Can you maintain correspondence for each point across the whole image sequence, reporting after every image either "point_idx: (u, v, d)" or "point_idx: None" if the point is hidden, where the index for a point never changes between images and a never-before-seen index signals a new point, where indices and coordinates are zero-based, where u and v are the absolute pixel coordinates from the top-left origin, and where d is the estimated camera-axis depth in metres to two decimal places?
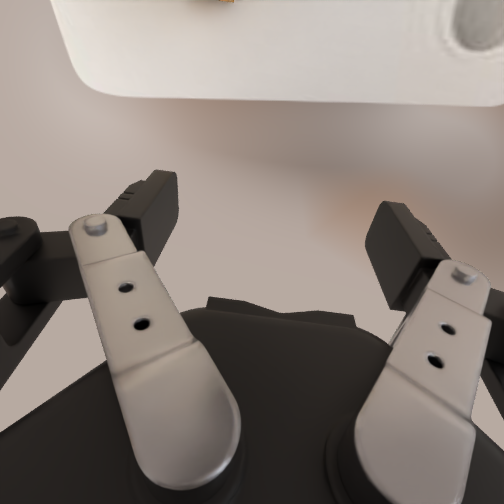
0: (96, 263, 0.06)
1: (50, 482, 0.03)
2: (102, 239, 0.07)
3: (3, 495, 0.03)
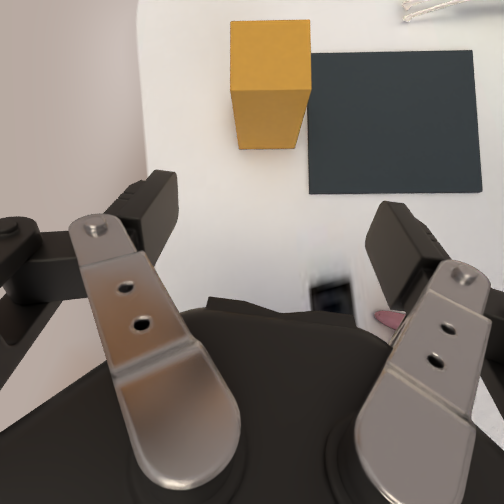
0: (96, 263, 0.06)
1: (50, 482, 0.03)
2: (102, 238, 0.07)
3: (3, 495, 0.03)
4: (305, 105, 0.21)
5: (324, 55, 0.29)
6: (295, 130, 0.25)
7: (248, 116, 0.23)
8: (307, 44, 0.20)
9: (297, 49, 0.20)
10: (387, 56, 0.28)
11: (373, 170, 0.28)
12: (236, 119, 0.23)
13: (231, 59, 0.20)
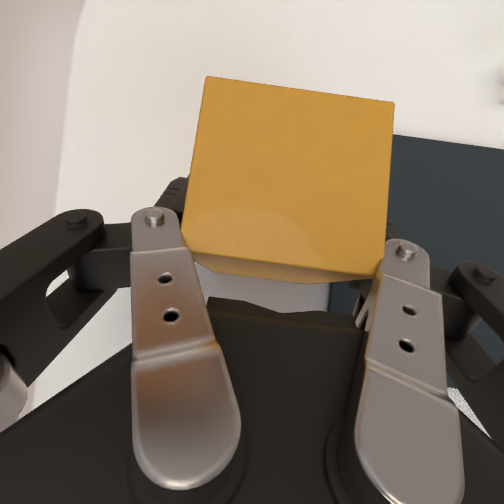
0: (145, 252, 0.06)
1: (50, 482, 0.03)
2: (157, 230, 0.07)
3: (6, 490, 0.03)
4: (352, 279, 0.09)
5: None
6: (317, 281, 0.13)
7: (225, 266, 0.11)
8: (385, 161, 0.08)
9: (358, 169, 0.08)
10: (475, 153, 0.17)
11: None
12: (201, 263, 0.11)
13: (193, 169, 0.08)
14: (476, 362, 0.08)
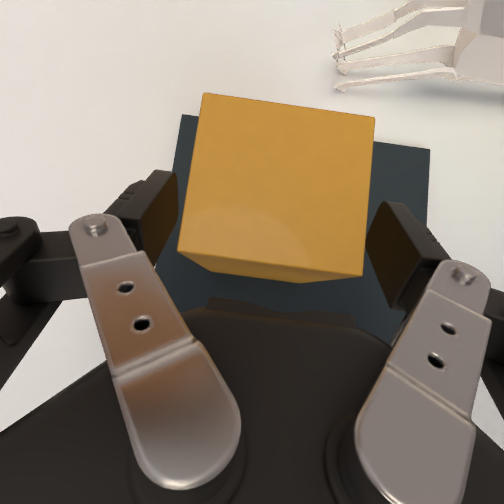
0: (96, 263, 0.06)
1: (50, 482, 0.03)
2: (102, 239, 0.07)
3: (3, 495, 0.03)
4: (338, 278, 0.10)
5: None
6: (308, 280, 0.14)
7: (221, 266, 0.11)
8: (365, 170, 0.09)
9: (341, 178, 0.09)
10: None
11: None
12: (199, 263, 0.12)
13: (191, 178, 0.09)
14: None
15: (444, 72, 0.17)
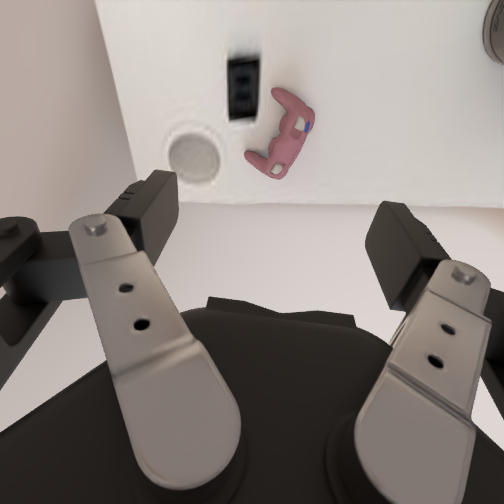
0: (96, 263, 0.06)
1: (50, 482, 0.03)
2: (102, 239, 0.07)
3: (3, 495, 0.03)
4: None
5: None
6: None
7: None
8: None
9: None
10: None
11: None
12: None
13: None
14: None
15: None
